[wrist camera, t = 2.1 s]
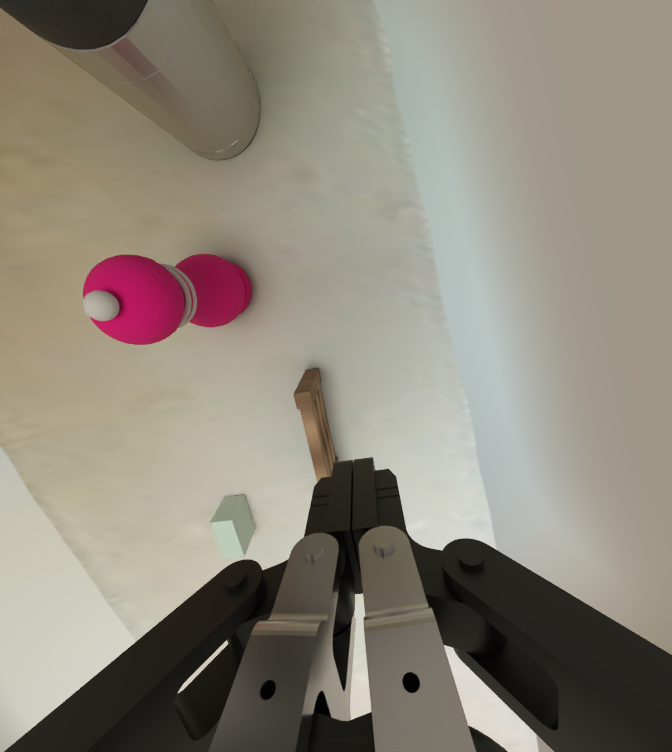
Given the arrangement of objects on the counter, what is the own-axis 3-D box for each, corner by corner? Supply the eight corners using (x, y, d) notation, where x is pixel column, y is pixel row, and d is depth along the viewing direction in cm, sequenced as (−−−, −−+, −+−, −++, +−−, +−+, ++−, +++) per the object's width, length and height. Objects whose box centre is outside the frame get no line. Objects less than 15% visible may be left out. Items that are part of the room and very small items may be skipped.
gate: (305, 370, 39) (293, 394, 32) (318, 368, 39) (309, 391, 31) (327, 469, 43) (321, 510, 36) (339, 467, 43) (336, 509, 35)
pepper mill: (265, 273, 36) (166, 274, 17) (244, 330, 39) (136, 387, 20) (205, 244, 36) (35, 213, 17) (187, 304, 38) (19, 337, 19)
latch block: (224, 496, 46) (209, 522, 41) (244, 494, 46) (231, 520, 41) (236, 530, 48) (223, 558, 43) (255, 528, 48) (244, 556, 43)
